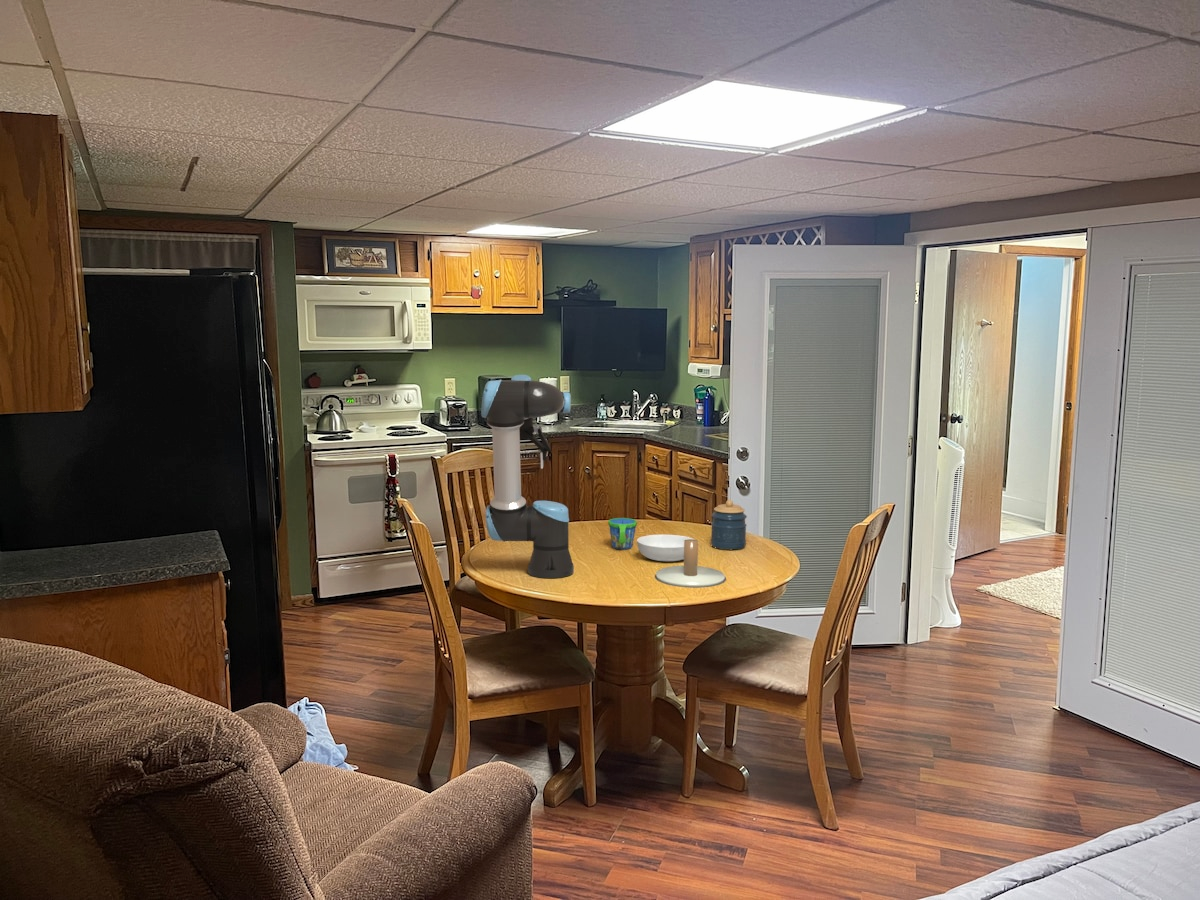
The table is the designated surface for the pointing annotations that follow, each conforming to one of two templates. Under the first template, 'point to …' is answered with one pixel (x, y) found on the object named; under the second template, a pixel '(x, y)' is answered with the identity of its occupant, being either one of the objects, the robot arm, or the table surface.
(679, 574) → the lid
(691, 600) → the table surface
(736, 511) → the canister
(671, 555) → the serving bowl
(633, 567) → the table surface
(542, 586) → the table surface
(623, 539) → the snack cup
